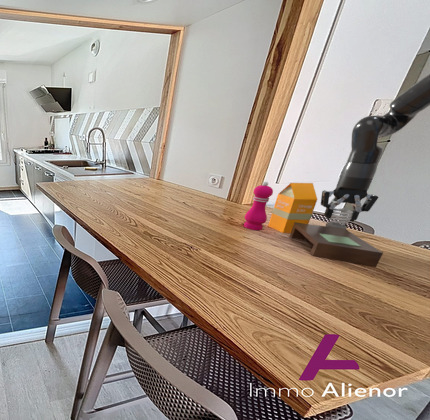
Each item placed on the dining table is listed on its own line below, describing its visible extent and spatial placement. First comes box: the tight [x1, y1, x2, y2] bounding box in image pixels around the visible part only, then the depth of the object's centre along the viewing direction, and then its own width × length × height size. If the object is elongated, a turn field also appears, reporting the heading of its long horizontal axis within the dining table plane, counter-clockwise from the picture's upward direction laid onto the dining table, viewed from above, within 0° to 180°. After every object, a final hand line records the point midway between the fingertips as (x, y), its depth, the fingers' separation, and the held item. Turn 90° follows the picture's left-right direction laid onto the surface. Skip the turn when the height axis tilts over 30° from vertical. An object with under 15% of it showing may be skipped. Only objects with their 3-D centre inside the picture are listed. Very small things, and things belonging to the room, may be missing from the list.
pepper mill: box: [243, 181, 274, 231], centre depth 100 cm, size 7×7×20 cm
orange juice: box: [267, 182, 318, 234], centre depth 99 cm, size 8×9×20 cm
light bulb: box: [325, 207, 353, 230], centre depth 93 cm, size 6×6×12 cm
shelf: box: [289, 222, 384, 268], centre depth 83 cm, size 14×20×6 cm
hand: (339, 219), depth 92 cm, fingers closed on light bulb, 5 cm apart
